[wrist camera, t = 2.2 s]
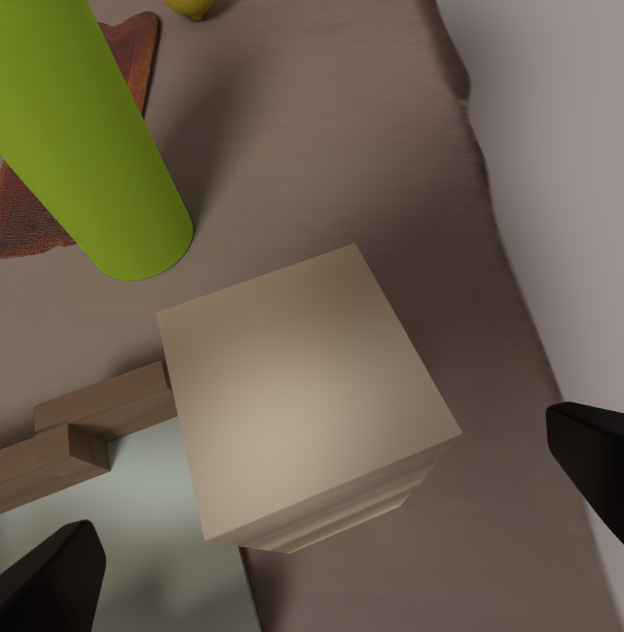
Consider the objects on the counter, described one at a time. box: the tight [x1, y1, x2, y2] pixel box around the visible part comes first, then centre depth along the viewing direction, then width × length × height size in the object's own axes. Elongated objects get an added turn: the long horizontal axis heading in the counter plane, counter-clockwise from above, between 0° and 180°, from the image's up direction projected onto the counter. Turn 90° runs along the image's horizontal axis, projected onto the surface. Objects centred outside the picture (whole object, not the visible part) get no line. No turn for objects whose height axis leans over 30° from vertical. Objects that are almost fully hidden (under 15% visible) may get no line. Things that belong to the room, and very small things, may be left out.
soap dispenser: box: [0, 0, 193, 281], centre depth 16 cm, size 6×7×20 cm
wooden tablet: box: [0, 11, 159, 258], centre depth 31 cm, size 27×10×2 cm, turn 5°
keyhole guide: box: [0, 360, 262, 632], centre depth 15 cm, size 12×12×3 cm
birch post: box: [156, 243, 463, 554], centre depth 13 cm, size 4×4×11 cm
